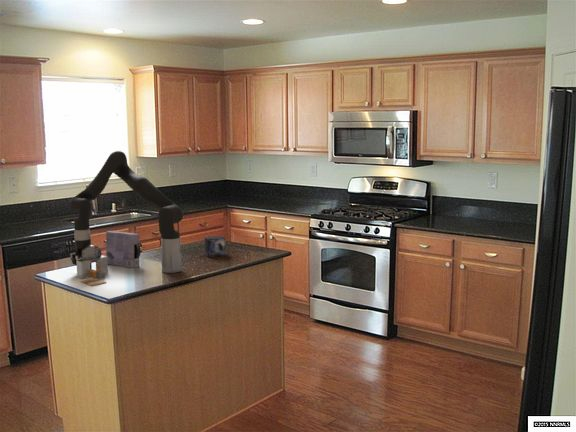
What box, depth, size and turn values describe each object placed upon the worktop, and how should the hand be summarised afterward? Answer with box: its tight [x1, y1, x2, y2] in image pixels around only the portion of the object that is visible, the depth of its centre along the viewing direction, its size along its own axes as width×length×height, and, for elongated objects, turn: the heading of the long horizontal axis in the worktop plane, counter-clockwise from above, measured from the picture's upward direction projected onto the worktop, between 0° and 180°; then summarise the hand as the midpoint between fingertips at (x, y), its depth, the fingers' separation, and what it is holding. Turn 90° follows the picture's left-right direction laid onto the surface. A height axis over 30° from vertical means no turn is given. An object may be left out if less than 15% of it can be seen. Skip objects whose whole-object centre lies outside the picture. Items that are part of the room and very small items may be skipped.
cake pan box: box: [105, 230, 142, 269], centre depth 307 cm, size 19×5×18 cm, turn 68°
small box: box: [204, 235, 226, 258], centre depth 330 cm, size 11×6×10 cm, turn 114°
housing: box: [76, 244, 109, 280], centre depth 288 cm, size 4×14×15 cm, turn 139°
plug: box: [89, 263, 106, 280], centre depth 290 cm, size 19×4×6 cm, turn 48°
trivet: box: [80, 277, 107, 287], centre depth 277 cm, size 10×7×1 cm
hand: (84, 271), depth 294 cm, fingers closed on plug, 4 cm apart
